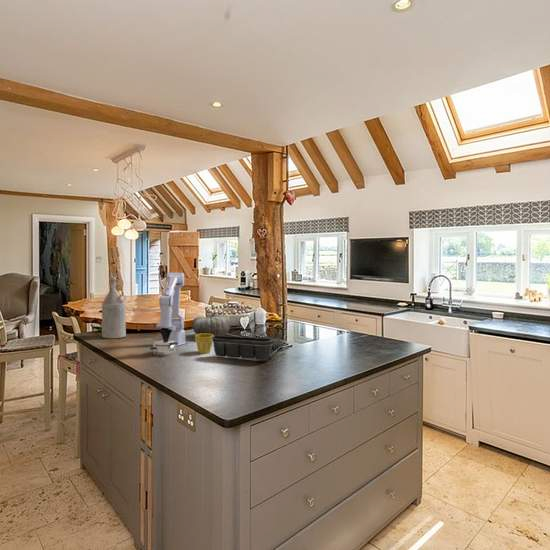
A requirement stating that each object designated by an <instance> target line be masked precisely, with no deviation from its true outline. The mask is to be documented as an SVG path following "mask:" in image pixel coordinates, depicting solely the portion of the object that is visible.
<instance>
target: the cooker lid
mask: <svg viewBox="0 0 550 550" xmlns="http://www.w3.org/2000/svg"><path fill="white" fill-rule="evenodd" d="M169 344H170V345H173V344H176V342H175V340H169V339H168V342H164V341H163V339H162V340H156V341H152V346H153V345H169Z"/></svg>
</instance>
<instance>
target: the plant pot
mask: <svg viewBox="0 0 550 550" xmlns="http://www.w3.org/2000/svg"><path fill="white" fill-rule="evenodd" d="M213 336H214V335H213V334H197V335H196V334H195V335H194V342H195V343H196V347H197V348H196V349H197V353H199V354H202V355H203V354H206V355H207V354H209V353H211V350H212V346H213V341H212V340H213V339H212V337H213Z"/></svg>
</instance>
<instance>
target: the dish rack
mask: <svg viewBox="0 0 550 550" xmlns="http://www.w3.org/2000/svg"><path fill="white" fill-rule="evenodd" d="M279 335H280V333H279V332H278V331H275V332H273V334H271V335H270V332H269V330H266V331H265V332H263V333H261V334H260V331H259V330H256V331H254V332H252V333H251V331H250V330H249V329H248V330H245V331H243V332H241V330H239V329H238V330H237V329H236V330H235V331H232V332H231V333H229V334H226V335H224V336H213V337H212V339H213V340H212V341H213V342H212V344H213V349H214V354H215V355H216V356H217V357H227V358H237V359H239V358H241V359H251V360H253V359H256V360H269V359H270V357H272V356H273V355H274V354H275V352H277V351H278V350H279V349H280V348H281V347H283V346H284V345H285V344H286V341H287V340H286V339H285V340H280V339H281V338H280V336H279ZM284 343H285V344H284ZM273 349H274V351H273ZM272 358H273V357H272Z"/></svg>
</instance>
